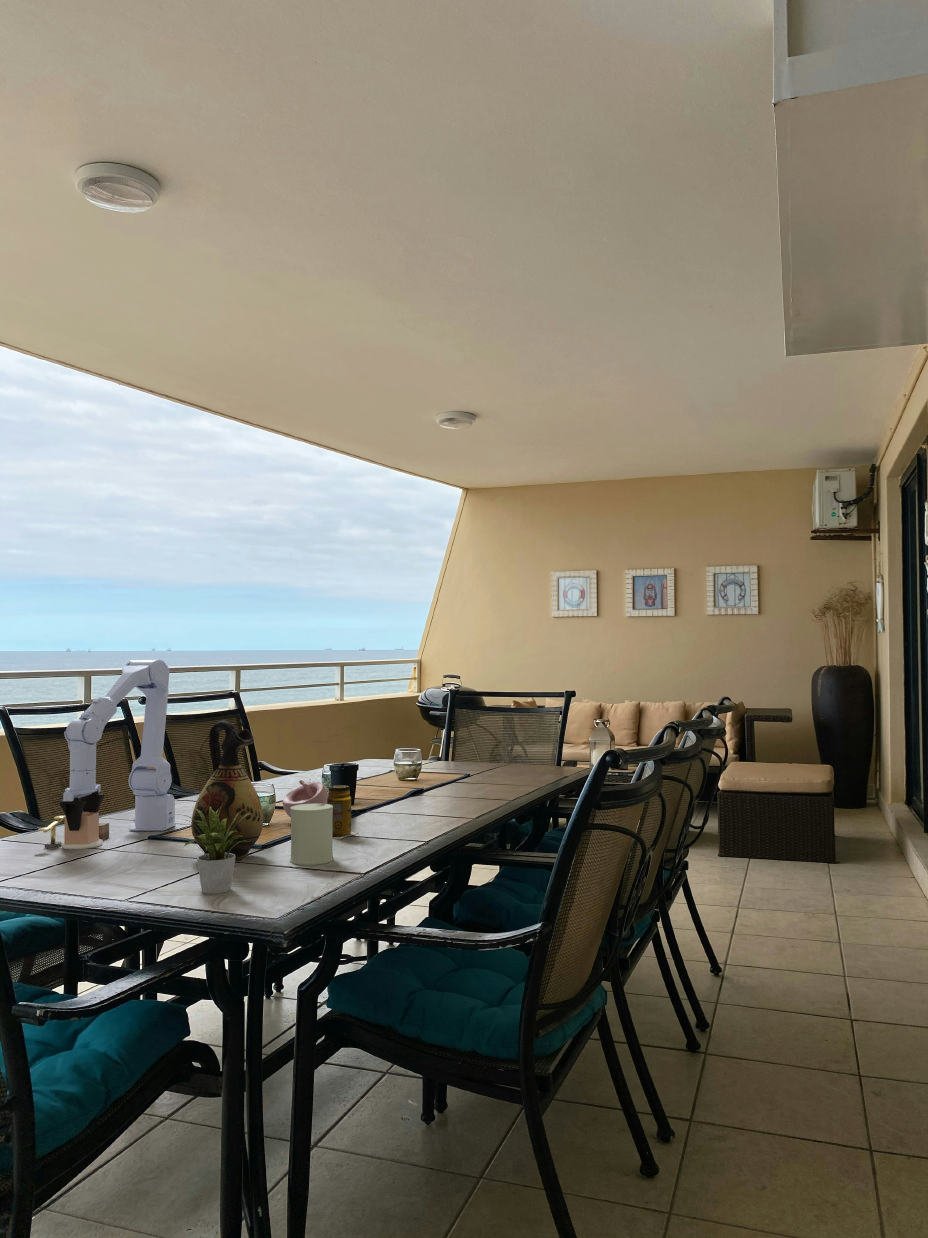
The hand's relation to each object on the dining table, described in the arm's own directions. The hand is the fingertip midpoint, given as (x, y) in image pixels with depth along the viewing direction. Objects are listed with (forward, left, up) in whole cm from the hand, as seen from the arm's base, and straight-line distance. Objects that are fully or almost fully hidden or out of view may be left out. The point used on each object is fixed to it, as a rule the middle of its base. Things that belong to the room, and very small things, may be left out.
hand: (82, 827), depth 208 cm
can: (-58, +16, -4) cm, 61 cm away
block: (0, -8, -4) cm, 10 cm away
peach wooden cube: (0, 0, -3) cm, 3 cm away
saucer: (0, 0, -4) cm, 4 cm away
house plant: (-44, +41, -4) cm, 60 cm away
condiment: (-58, -12, -4) cm, 60 cm away
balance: (+6, +2, -4) cm, 8 cm away
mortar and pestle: (-46, -30, -4) cm, 56 cm away
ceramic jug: (-38, +13, -4) cm, 41 cm away
